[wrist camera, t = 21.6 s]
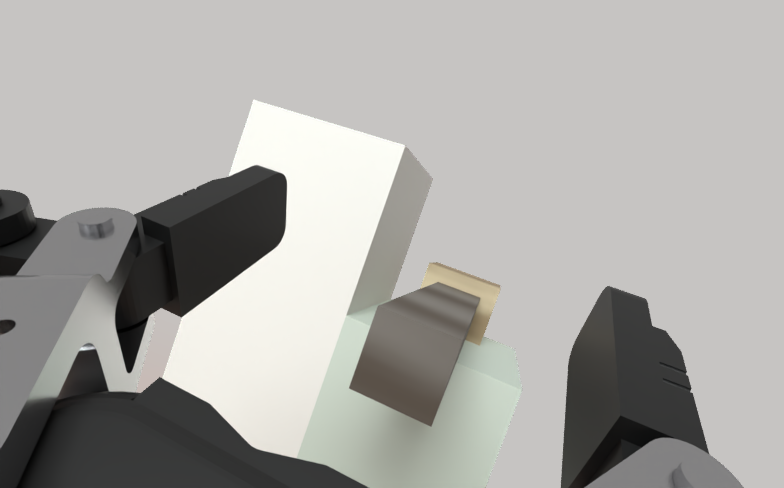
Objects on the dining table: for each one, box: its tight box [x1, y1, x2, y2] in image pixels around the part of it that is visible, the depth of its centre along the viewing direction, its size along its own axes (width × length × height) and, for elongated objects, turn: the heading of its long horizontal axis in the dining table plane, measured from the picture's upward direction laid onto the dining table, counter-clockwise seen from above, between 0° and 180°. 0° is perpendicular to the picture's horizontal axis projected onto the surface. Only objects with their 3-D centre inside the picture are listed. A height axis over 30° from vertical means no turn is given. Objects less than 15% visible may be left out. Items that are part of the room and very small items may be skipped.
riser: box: [162, 100, 522, 488], centre depth 29 cm, size 10×20×32 cm, turn 75°
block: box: [349, 262, 500, 427], centre depth 23 cm, size 19×5×4 cm, turn 165°
